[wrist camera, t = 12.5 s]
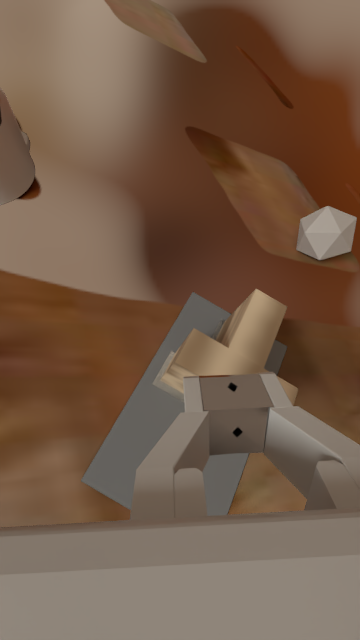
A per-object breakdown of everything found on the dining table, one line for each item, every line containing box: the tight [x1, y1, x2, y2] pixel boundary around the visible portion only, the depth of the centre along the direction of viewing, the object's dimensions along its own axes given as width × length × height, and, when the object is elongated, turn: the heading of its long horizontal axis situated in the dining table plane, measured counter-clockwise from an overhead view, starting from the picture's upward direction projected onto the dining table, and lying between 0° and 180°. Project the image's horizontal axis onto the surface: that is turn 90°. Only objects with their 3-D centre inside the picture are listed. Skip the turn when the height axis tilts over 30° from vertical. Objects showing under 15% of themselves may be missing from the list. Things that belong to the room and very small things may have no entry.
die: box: [296, 206, 357, 260], centre depth 46 cm, size 8×9×10 cm
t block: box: [160, 289, 298, 405], centre depth 33 cm, size 12×12×10 cm
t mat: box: [81, 292, 287, 516], centre depth 35 cm, size 16×27×1 cm, turn 152°
